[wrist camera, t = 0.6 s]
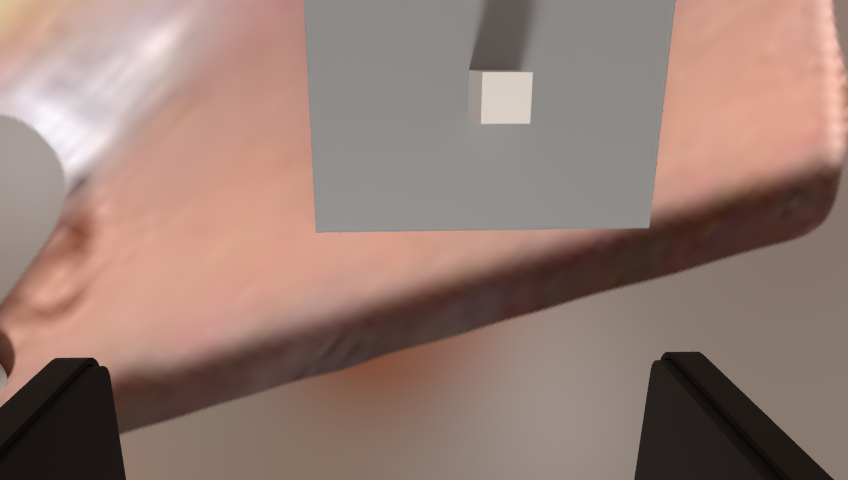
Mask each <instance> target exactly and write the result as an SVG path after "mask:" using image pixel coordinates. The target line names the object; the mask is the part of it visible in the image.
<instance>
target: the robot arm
mask: <svg viewBox="0 0 848 480" xmlns="http://www.w3.org/2000/svg"><path fill="white" fill-rule="evenodd" d="M0 480H126V477H125V470H124V464H123V457H122V451H121V444H120V438H119V431H118V425H117V418H116V412H115V405H114V399H113V392H112V386H111V379H110V374H109V371H108V369H107V368H106V367H105V366H99V364H98V362H97V360H95V359H94V358H55V359H54V360H52V361H51V362H50V363H48V364H47V365H46V366H45V367H44V368H43V369H42V370H41V371H40V372H39V373H38V374H36V375H35V376H34V377H33V378H32V379H31V380H30V381H29V382H28V383H27V384H26V385H24V386H23V387H22V388H21V389H20V390H19V391H18V392H17V393H16V394H15V395H14V396H12V397H11V398H10V399H9V400H8V401H7V402H6V403H5V404H4V405H3V406H2V407H0ZM634 480H834V479H833V478H831V476H829V475H828V474H827V473H826V472H825V471H824V470H823V469H822V468H821V467H820V466H819V465H818V464H817V463H816V462H815V461H814V460H813V459H812V458H811V457H810V456H809V455H808V454H806V453H805V452H804V451H803V450H802V449H801V448H800V447H799V446H798V445H797V444H796V443H795V442H794V441H793V440H792V439H791V438H790V437H789V436H788V435H787V434H786V433H785V432H783V431H782V430H781V429H780V428H779V427H778V426H777V425H776V424H775V423H774V422H773V421H772V420H771V419H770V418H769V417H768V416H767V415H766V414H765V413H764V412H762V410H761V409H759V408H758V407H757V406H756V405H755V404H754V403H753V402H752V401H751V400H750V399H749V398H748V397H747V396H746V395H745V394H744V393H743V392H742V391H740V389H739V388H738V387H736V386H735V385H734V384H733V383H732V382H731V381H730V380H729V379H728V378H727V377H726V376H725V375H724V374H723V373H722V372H721V371H720V370H719V369H718V368H717V367H716V366H715V365H713V364H712V363H711V362H710V361H709V360H708V359H707V358H706V357H705V356H704V355H703V354H701V353H700V352H666V353H664V354H663V356H662V357H661V360H656V361H654V362H653V364H652V367H651V372H650V379H649V385H648V392H647V399H646V405H645V413H644V419H643V425H642V432H641V439H640V445H639V452H638V460H637V465H636V472H635V479H634Z"/></svg>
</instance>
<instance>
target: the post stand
mask: <svg viewBox="0 0 848 480" xmlns="http://www.w3.org/2000/svg"><path fill="white" fill-rule="evenodd" d="M675 1H676V0H304V12H305V31H306V50H307V69H308V88H309V107H310V126H311V145H312V164H313V183H314V202H315V221H316V233H322V232H395V231H468V230H541V229H613V228H649V224H650V215H651V206H652V198H653V189H654V181H655V172H656V164H657V155H658V146H659V138H660V129H661V121H662V112H663V104H664V95H665V87H666V78H667V69H668V61H669V52H670V44H671V35H672V27H673V18H674V9H675Z"/></svg>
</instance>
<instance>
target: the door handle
mask: <svg viewBox="0 0 848 480" xmlns="http://www.w3.org/2000/svg"><path fill="white" fill-rule="evenodd" d="M7 384H8V377H7V374H6V372H5V370H4V368H3V367H2V365H1V364H0V391H1V390H2V389H3V388H4V387H5V386H6V385H7Z"/></svg>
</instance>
